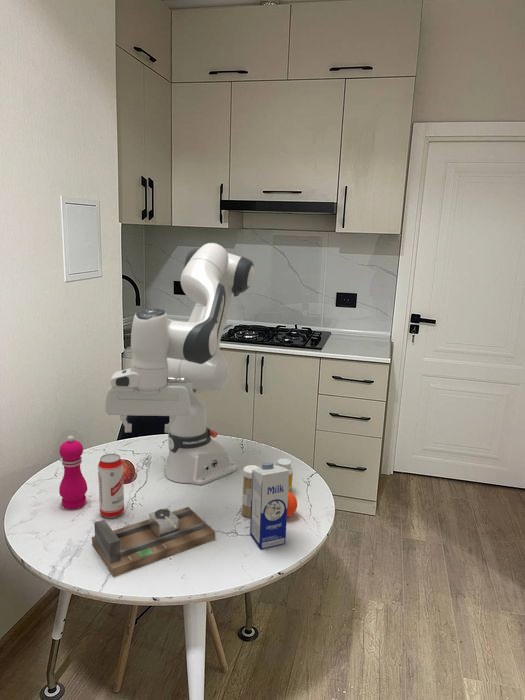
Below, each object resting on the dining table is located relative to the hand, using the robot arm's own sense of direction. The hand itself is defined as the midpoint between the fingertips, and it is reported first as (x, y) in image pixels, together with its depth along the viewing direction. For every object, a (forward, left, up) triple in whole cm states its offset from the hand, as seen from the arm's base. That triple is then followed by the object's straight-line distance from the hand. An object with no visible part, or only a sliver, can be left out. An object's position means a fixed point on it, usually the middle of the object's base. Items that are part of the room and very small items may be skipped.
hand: (148, 432), depth 129 cm
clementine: (-32, +15, -26) cm, 44 cm away
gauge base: (+2, +7, -26) cm, 27 cm away
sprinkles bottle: (-25, +9, -26) cm, 38 cm away
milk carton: (-22, +21, -26) cm, 40 cm away
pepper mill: (+13, -21, -26) cm, 36 cm away
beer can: (+6, -11, -26) cm, 29 cm away
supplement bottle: (-40, +4, -26) cm, 48 cm away
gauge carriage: (-1, +8, -24) cm, 25 cm away
